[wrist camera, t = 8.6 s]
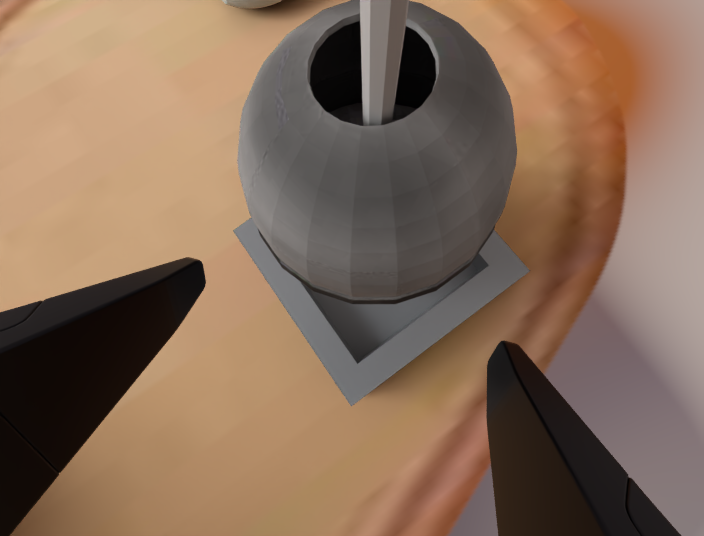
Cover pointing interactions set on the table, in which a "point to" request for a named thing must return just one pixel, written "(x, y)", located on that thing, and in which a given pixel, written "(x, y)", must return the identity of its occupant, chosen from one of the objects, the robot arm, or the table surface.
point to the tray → (382, 314)
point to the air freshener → (250, 3)
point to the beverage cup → (377, 151)
